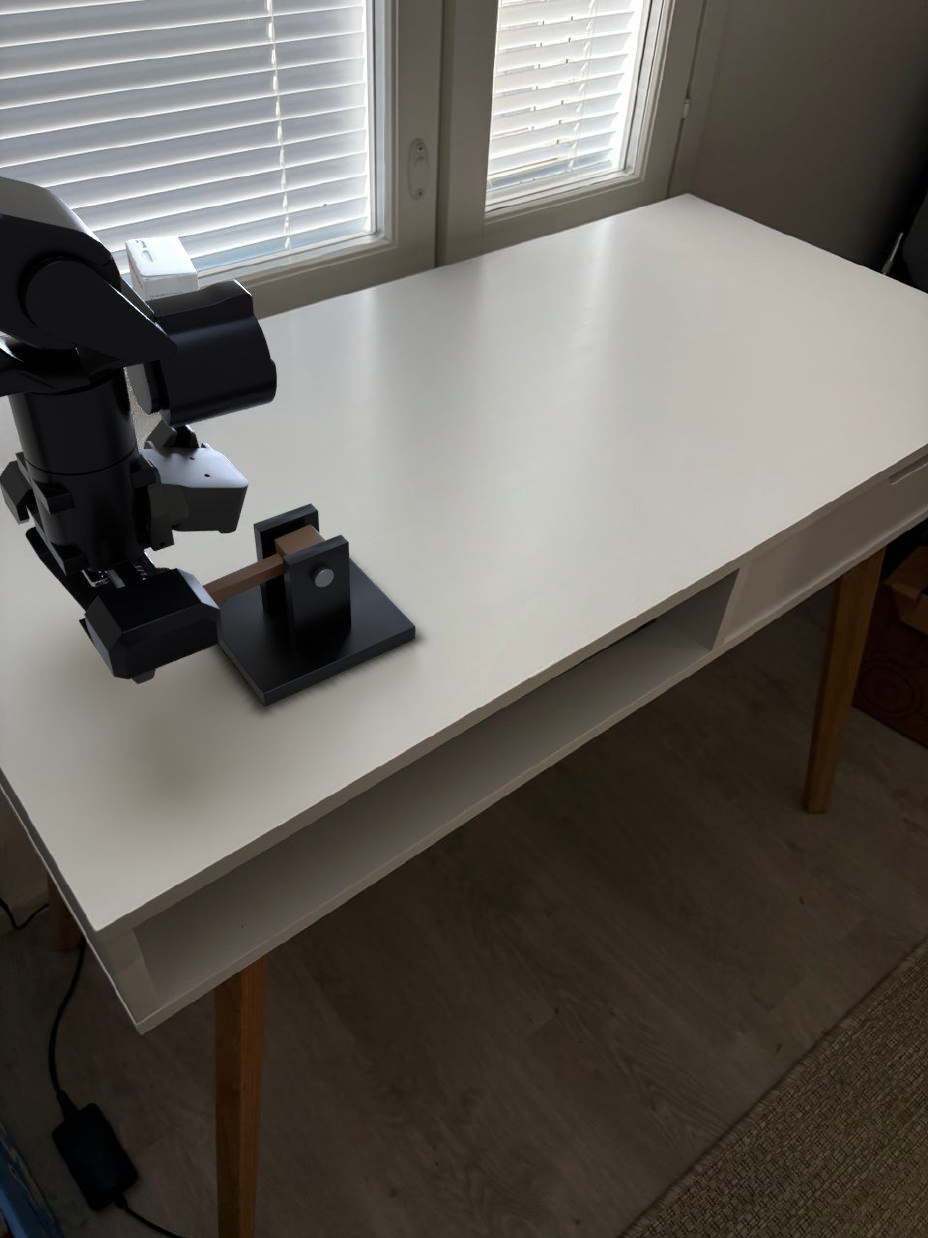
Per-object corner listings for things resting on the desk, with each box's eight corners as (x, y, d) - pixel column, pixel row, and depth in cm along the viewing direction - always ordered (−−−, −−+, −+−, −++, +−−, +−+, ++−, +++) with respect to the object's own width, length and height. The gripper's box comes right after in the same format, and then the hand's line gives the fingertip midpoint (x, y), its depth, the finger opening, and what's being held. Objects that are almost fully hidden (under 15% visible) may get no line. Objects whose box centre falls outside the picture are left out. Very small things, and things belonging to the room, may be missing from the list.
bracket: (265, 706, 67) (253, 609, 61) (200, 619, 73) (183, 522, 67) (415, 638, 72) (418, 543, 66) (344, 562, 78) (340, 467, 72)
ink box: (215, 391, 95) (199, 270, 87) (162, 400, 93) (141, 278, 85) (193, 348, 101) (177, 231, 93) (143, 356, 99) (121, 238, 91)
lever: (136, 673, 62) (127, 646, 60) (105, 625, 65) (95, 598, 63) (340, 579, 68) (337, 552, 66) (304, 539, 71) (300, 512, 69)
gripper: (302, 488, 52) (313, 696, 62) (154, 335, 62) (185, 534, 73) (88, 560, 46) (139, 773, 57) (-34, 379, 57) (29, 587, 68)
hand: (127, 653), depth 64 cm, fingers closed on lever, 5 cm apart
